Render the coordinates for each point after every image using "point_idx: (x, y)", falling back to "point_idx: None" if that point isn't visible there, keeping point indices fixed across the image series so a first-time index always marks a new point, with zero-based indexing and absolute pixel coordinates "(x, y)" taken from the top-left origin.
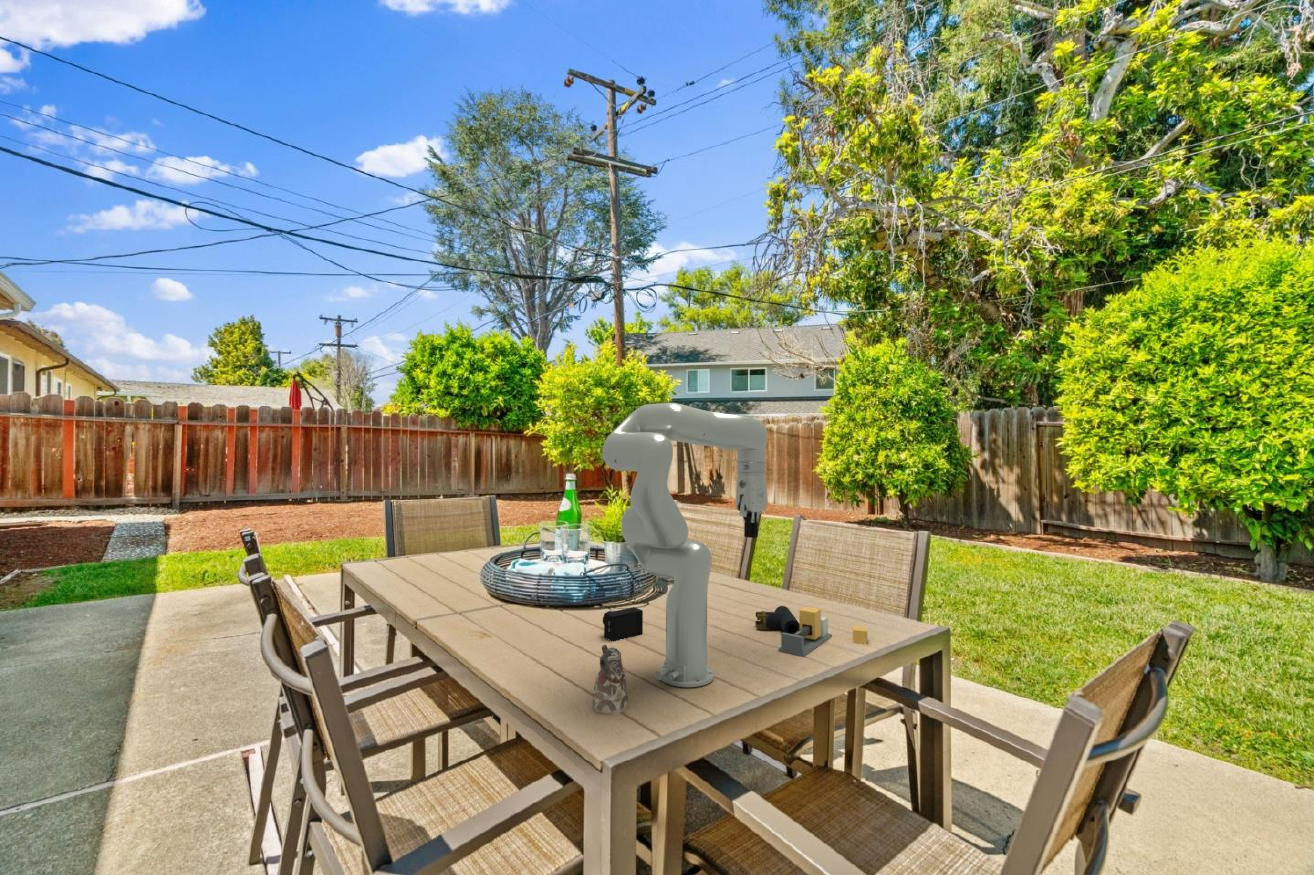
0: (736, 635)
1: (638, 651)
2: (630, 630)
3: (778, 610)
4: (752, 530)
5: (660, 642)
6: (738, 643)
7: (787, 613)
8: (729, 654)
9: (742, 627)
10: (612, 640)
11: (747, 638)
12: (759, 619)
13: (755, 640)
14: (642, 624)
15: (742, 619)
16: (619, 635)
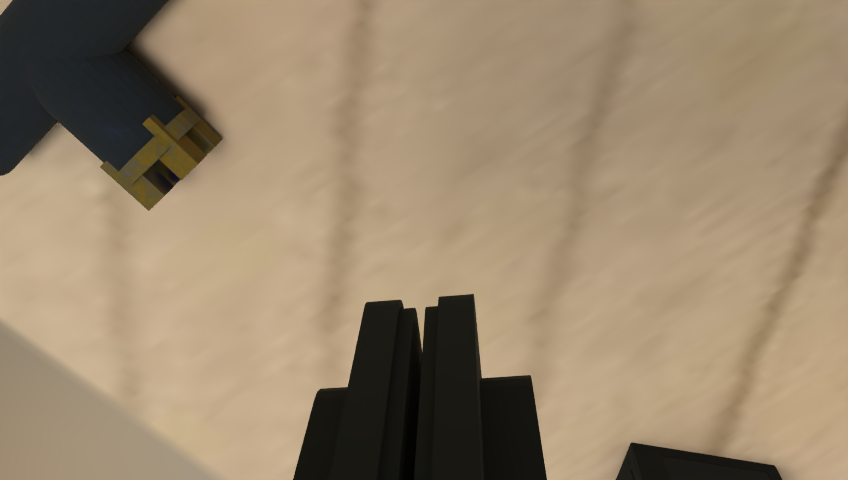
0: (363, 169)
1: (819, 339)
2: (697, 473)
3: (7, 141)
4: (480, 413)
5: (671, 344)
6: (455, 96)
7: (35, 48)
8: (622, 37)
9: (242, 215)
10: (774, 468)
11: (361, 105)
12: (197, 148)
13: (357, 58)
14: (641, 473)
15: (145, 280)
16: (747, 473)
